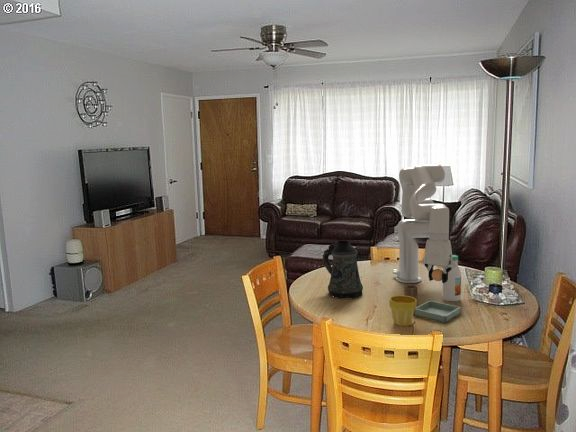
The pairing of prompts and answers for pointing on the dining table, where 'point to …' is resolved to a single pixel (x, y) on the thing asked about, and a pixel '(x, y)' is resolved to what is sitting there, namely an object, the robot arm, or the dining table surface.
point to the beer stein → (343, 270)
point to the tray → (437, 311)
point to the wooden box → (410, 291)
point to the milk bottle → (453, 283)
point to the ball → (437, 274)
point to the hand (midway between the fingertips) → (438, 280)
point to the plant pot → (402, 309)
